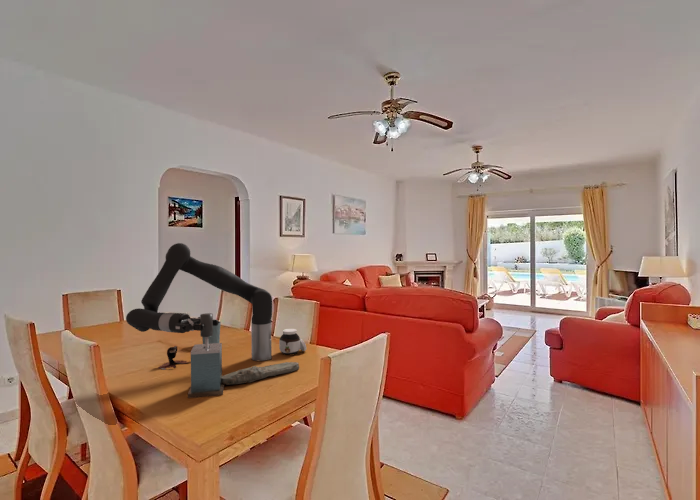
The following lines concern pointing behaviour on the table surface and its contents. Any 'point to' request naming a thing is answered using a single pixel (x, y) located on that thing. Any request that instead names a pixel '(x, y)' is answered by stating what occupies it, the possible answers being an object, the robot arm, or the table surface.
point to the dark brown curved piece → (171, 359)
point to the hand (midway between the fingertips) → (210, 325)
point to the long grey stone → (258, 373)
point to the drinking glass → (214, 335)
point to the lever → (206, 326)
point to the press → (206, 371)
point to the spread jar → (291, 342)
